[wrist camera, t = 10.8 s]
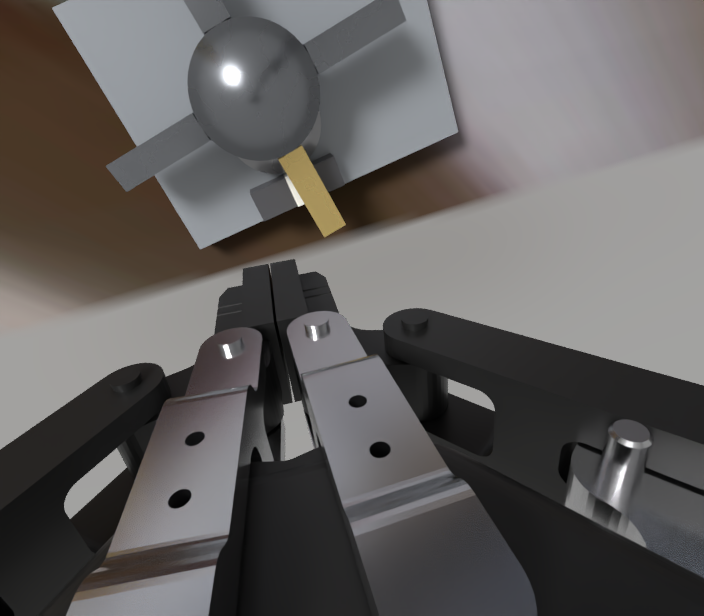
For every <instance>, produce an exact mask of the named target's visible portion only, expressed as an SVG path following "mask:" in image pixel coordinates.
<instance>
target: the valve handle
mask: <svg viewBox="0 0 704 616" xmlns="http://www.w3.org/2000/svg"><path fill="white" fill-rule="evenodd" d="M184 2H185V4H186V5H187V7H188V9H189V10H190V12H191V14H192V15H193V17H194V19H195V20H196V22H197V24H198V26H199V27H200V29H201V31H202V32H203V34H204V36H203V38H202V39H201V40H200V42H199V43H198V45H197V46H196V48H195V50H194V52H193V55H192V58H191V60H190V64H189V69H188V79H187V84H188V94H189V100H190V104H191V107H192V110H193V113H191V114H189V115H188V116H186V117H185V118H183V119H181V120H180V121H178V122H176V123H175V124H173V125H172V126H170V127H168V128H167V129H165V130H163V131H162V132H160V133H159V134H157V135H155V136H154V137H152V138H151V139H149V140H147V141H146V142H144V143H142V144H141V145H139V146H138V147H136V148H134V149H133V150H131V151H129V152H128V153H126V154H125V155H123V156H121V157H120V158H118V159H116V160H115V161H113V162H112V163H110V164H108V165H107V166H106V167H107V169H108V170H109V171H110V172H111V173H112V175H113V176H114V177H115V178H116V180H117V181H118V182H119V183H120V184H121V186H122V187H123V188H124V189H125V191H126V192H127V191H129V190H131V189H132V188H134V187H136V186H137V185H139V184H140V183H142V182H144V181H145V180H147V179H149V178H150V177H152V176H153V175H155V174H157V173H158V172H160V171H162V170H163V169H165V168H167V167H168V166H170V165H171V164H173V163H175V162H176V161H178V160H180V159H181V158H183V157H185V156H186V155H188V154H189V153H191V152H193V151H194V150H196V149H198V148H199V147H201V146H203V145H204V144H206V143H207V142H209V141H210V140H212V141H213V142H215V143H216V144H217V145H218V146H219V147H221V148H222V149H224V150H225V151H227V152H228V153H231V154H233V155H235V156H237V157H238V158H239V159H240V160H241V161H243V162H244V163H245V164H246V165H248V166H249V167H251V168H253V169H255V170H257V171H260V172H263V173H268V174H282V173H286V174H287V175H288V177H289V179H290V180H291V182H292V184H293V185H294V187H295V189H296V190H297V192H298V194H299V195H300V197H301V199H302V200H303V202H304V204H305V205H306V207H307V209H308V211H309V212H310V214H311V216H312V217H313V219H314V221H315V222H316V224H317V226H318V227H319V229H320V231H321V232H322V234H323V236H324V237H326V236H328V235H329V234H331V233H333V232H334V231H336V230H338V229H339V228H341V227H343V226H344V225H346V224H345V222H344V220H343V218H342V217H341V215H340V213H339V211H338V209H337V208H336V206H335V204H334V202H333V200H332V199H331V197H330V195H329V193H328V191H327V190H326V188H325V186H324V184H323V182H322V181H321V179H320V177H319V175H318V173H317V172H316V170H315V168H314V166H313V164H312V163H311V161H310V159H309V158H310V157H311V155H312V154H313V152H314V151H315V149H316V147H317V144H318V141H319V138H320V133H321V117H320V111H319V106H320V85H319V79H318V75H317V74H320V73H322V72H323V71H325V70H327V69H328V68H330V67H332V66H333V65H335V64H337V63H338V62H340V61H341V60H343V59H345V58H346V57H348V56H350V55H351V54H353V53H355V52H356V51H358V50H359V49H361V48H363V47H364V46H366V45H368V44H369V43H371V42H373V41H374V40H376V39H377V38H379V37H381V36H382V35H384V34H386V33H387V32H389V31H390V30H392V29H394V28H395V27H397V26H399V25H400V24H402V23H404V22H405V21H406V18H405V15H404V13H403V10H402V7H401V5H400V2H399V0H374V1H373V2H371V3H370V4H368V5H366V6H365V7H363V8H361V9H360V10H358V11H357V12H355V13H353V14H352V15H350V16H348V17H347V18H345V19H344V20H342V21H340V22H339V23H337V24H335V25H334V26H332V27H331V28H329V29H327V30H326V31H324V32H323V33H321V34H319V35H318V36H316V37H314V38H313V39H311V40H310V41H308V42H306V43H305V44H303V45H302V43H301V42H300V41H299V40H298V39H297V38H296V37H295V36H294V35H293V34H292V33H290V32H289V31H288V30H287V29H285V28H284V27H282V26H280V25H279V24H277V23H275V22H272V21H270V20H267V19H264V18H259V17H252V16H242V17H236V18H232V19H231V17H230V15H229V13H228V11H227V10H226V8H225V6H224V4H223V2H222V1H221V0H184Z"/></svg>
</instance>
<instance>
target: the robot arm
mask: <svg viewBox="0 0 704 616" xmlns="http://www.w3.org/2000/svg"><path fill="white" fill-rule="evenodd" d="M270 266H271V273H270V268H269V265H268V264H265V265H260V266H255V267H249V268H244V269H243V285H242V286H238V287H232V288H228V289H227V290H226V291H225V292H224V293H223V294H222V295H221V296H220V298H219V304H218V312H217V319H216V326H215V334H214V335H213V336H211V337H210V338H208V339H207V340H206V341H205V342H204V343H203V344H202V345H201V347H200V349H199V353H198V356H197V359H196V362H195V365H193V366H191V367H189V368H187V369H184V370H182V371H179V372H177V373H175V374H172V375H169V376H167V377H165V374H164V372H163V369H162V368H161V367H160V366H159V365H156V364H152V363H139V364H134V365H130V366H127V367H124V368H121V369H119V370H117V371H115V372H113V373H111V374H109V375H108V376H107V377H105V378H103V379H102V380H100V381H99V382H97V383H96V384H95V385H93V386H92V387H90V388H89V389H87V390H86V391H85V392H83V393H82V394H80V395H79V396H77V397H76V398H74V399H73V400H72V401H70V402H69V403H67V404H66V405H65V406H63V407H61V408H60V409H59V410H57V411H56V412H54V413H53V414H51V415H50V416H48V417H47V418H45V419H44V420H43V421H41V422H40V423H38V424H37V425H36V426H34V427H32V428H31V429H30V430H28V431H27V432H25V433H24V434H22V435H21V436H19V437H18V438H17V439H15V440H14V441H12V442H11V443H9V444H8V445H6V446H5V447H4V448H2V449H1V450H0V616H704V386H703V385H699V384H696V383H692V382H689V381H685V380H681V379H678V378H674V377H670V376H667V375H663V374H660V373H656V372H652V371H649V370H645V369H642V368H638V367H634V366H631V365H627V364H623V363H620V362H616V361H613V360H609V359H606V358H601V357H598V356H595V355H591V354H587V353H584V352H580V351H577V350H573V349H569V348H566V347H562V346H558V345H555V344H551V343H548V342H544V341H541V340H537V339H533V338H529V337H526V336H523V335H519V334H515V333H512V332H508V331H504V330H501V329H497V328H494V327H490V326H487V325H483V324H479V323H476V322H472V321H468V320H465V319H461V318H458V317H454V316H450V315H447V314H443V313H440V312H436V311H432V310H428V309H421V308H420V309H419V308H414V309H405V310H401V311H398V312H396V313H393V314H392V315H390V316H389V317H387V318H386V320H385V321H384V323H383V330H360V329H355V328H353V327H350V325H349V323H348V321H347V320H346V318H345V317H344V316H343V315H341V314H339V312H338V309H337V307H336V304H335V301H334V299H333V296H332V294H331V291H330V288H329V286H328V283H327V280H326V278H325V277H324V276H322V275H321V274H319V273H317V272H310V273H306V274H300V275H299V274H298V270H297V266H296V262H295V259H292V260H287V261H281V262H276V263H271V264H270ZM271 275H272V277H271ZM289 377H290V380H289ZM448 379H451V380H454V381H456V382H459V383H462V384H464V385H467V386H470V387H472V388H475V389H477V390H480V391H482V392H483V393H485V394H486V395H487V396H488V397H489V398H490V399H491V401H492V402H493V404H494V407H495V411H492V410H490V409H487V408H484V407H482V406H479V405H477V404H474V403H472V402H469V401H467V400H464V399H462V398H459V397H457V396H454V395H452V394H449V393H448ZM290 381H291V386H292V390H293V394H294V399H295V402H296V401H301V400H302V404H303V407H304V413H305V417H306V422H307V426H308V430H309V433H310V437H311V440H312V444H313V447H314V449H313V450H311V451H309V452H307V453H305V454H302V455H300V456H298V457H296V458H294V459H291V460H287V461H285V426H284V422H283V415H284V410H283V404H288V403H292V395H291V388H290ZM116 448H117V449H118V450H119V452H120V454H121V456H122V458H123V460H124V462H125V464H126V466H127V468H126V469H125V470H124V471H123V472H122V473H121V474H120V475H118V476H117V477H116V478H115V479H114V480H113V481H112V482H111V483H110V484H108V485H107V486H106V487H105V488H104V489H103V490H102V491H101V492H100V493H99V494H97V495H96V496H95V497H94V498H93V499H92V500H91V501H90V502H89V503H88V504H87V505H85V506H84V507H83V508H82V509H81V510H80V511H79V512H78V513H77V514H76V515H74V516H73V517H72V518H71V519H69V517H68V516H67V514H66V513H65V510H64V501H65V498H66V495H67V493H68V492H69V490H70V489H71V487H72V486H73V485H74V484H75V483H76V482H77V481H78V480H80V478H82V477H83V476H84V475H85V474H86V473H88V471H90V470H91V469H92V468H94V467H95V466H96V465H97V464H98V463H99V462H101V461H102V460H103V459H104V458H105V457H107V456H108V455H109V454H110V453H111V452H112V451H113V450H115V449H116Z"/></svg>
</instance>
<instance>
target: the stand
mask: <svg viewBox="0 0 704 616" xmlns="http://www.w3.org/2000/svg"><path fill="white" fill-rule="evenodd" d="M221 1H222V2H223V4H224V6H225V8H226V10H227V11H228V13H229V15H230V17H231V19H232V18H236V17H242V16H252V17H259V18H264V19H267V20H270V21H272V22H275V23H277V24H279V25H280V26H282V27H284V28H285V29H287V30H288V31H289V32H290V33H292V34H293V35H294V36H295V37H296V38H297V39H298V40H299V41H300V42H301V43H302V45H303V44H305V43H306V42H308V41H310V40H311V39H313V38H314V37H316V36H318V35H319V34H321V33H323V32H324V31H326V30H327V29H329V28H331V27H332V26H334V25H335V24H337V23H339V22H340V21H342V20H344V19H345V18H347V17H348V16H350V15H352V14H353V13H355V12H357V11H358V10H360V9H361V8H363V7H365V6H366V5H368V4H370V3H371V2H373V1H374V0H221ZM399 2H400V5H401V7H402V10H403V13H404V15H405V18H406V21H405V22H404V23H402V24H400V25H399V26H397V27H395V28H394V29H392V30H390V31H389V32H387V33H386V34H384V35H382V36H381V37H379V38H377V39H376V40H374V41H373V42H371V43H369V44H368V45H366V46H364V47H363V48H361V49H359V50H358V51H356V52H355V53H353V54H351V55H350V56H348V57H346V58H345V59H343V60H341V61H340V62H338V63H337V64H335V65H333V66H332V67H330V68H328V69H327V70H325V71H323V72H322V73H320V74H317V75H318V79H319V85H320V106H319V111H320V117H321V133H320V138H319V141H318V144H317V147H316V149H315V151H314V152H313V154H312V155H311V157H310V158H309V159H310V161H311V163H312V164H313V166H314V168H315V170H316V172H317V173H318V175H319V177H320V179H321V181H322V182H323V184H324V186H325V188H326V190H327V191H328V192H330V191H332V190H335V189H337V188H339V187H341V186H343V185H345V183H347V182H350V181H352V180H354V179H356V178H358V177H361V176H363V175H365V174H367V173H369V172H372V171H374V170H376V169H378V168H380V167H383V166H385V165H387V164H389V163H391V162H394V161H396V160H398V159H400V158H402V157H405V156H407V155H409V154H411V153H413V152H416V151H418V150H420V149H422V148H424V147H427V146H429V145H431V144H433V143H435V142H438V141H440V140H442V139H444V138H446V137H449V136H451V135H453V134H455V133H457V132H458V128H457V124H456V120H455V116H454V111H453V107H452V103H451V99H450V95H449V91H448V86H447V82H446V78H445V74H444V70H443V65H442V61H441V57H440V53H439V49H438V44H437V40H436V36H435V32H434V28H433V24H432V19H431V15H430V11H429V7H428V3H427V0H399ZM52 9H53V11H54V12H55V14H56V15H57V17H58V19H59V20H60V22H61V24H62V25H63V27H64V28H65V30H66V32H67V33H68V35H69V37H70V38H71V40H72V41H73V43H74V45H75V46H76V48H77V50H78V51H79V53H80V55H81V56H82V58H83V59H84V61H85V63H86V64H87V66H88V68H89V69H90V71H91V72H92V74H93V76H94V77H95V79H96V81H97V82H98V84H99V85H100V87H101V89H102V90H103V92H104V94H105V95H106V97H107V98H108V100H109V102H110V103H111V105H112V107H113V108H114V110H115V112H116V113H117V115H118V116H119V118H120V120H121V121H122V123H123V125H124V126H125V128H126V129H127V131H128V133H129V134H130V136H131V138H132V139H133V141H134V142H135V144H136V146H137V147H138V146H139V145H141V144H142V143H144V142H146V141H147V140H149V139H151V138H152V137H154V136H155V135H157V134H159V133H160V132H162V131H163V130H165V129H167V128H168V127H170V126H172V125H173V124H175V123H176V122H178V121H180V120H181V119H183V118H185V117H186V116H188V115H189V114H191V113H193V110H192V107H191V104H190V100H189V94H188V84H187V79H188V69H189V64H190V60H191V58H192V55H193V52H194V50H195V48H196V46H197V45H198V43H199V42H200V40H201V39H202V38H203V36H204V34H203V32H202V31H201V29H200V27H199V26H198V24H197V22H196V20H195V19H194V17H193V15H192V14H191V12H190V10H189V9H188V7H187V5H186V4H185V2H184V0H68V1H66V2H64V3H62V4H59V5H57V6H55V7H53V8H52ZM155 177H156V178H157V180H158V182H159V183H160V185H161V186H162V188H163V190H164V191H165V193H166V195H167V196H168V198H169V199H170V201H171V203H172V204H173V206H174V208H175V209H176V211H177V212H178V214H179V216H180V217H181V219H182V221H183V222H184V224H185V226H186V227H187V229H188V230H189V232H190V234H191V235H192V237H193V239H194V240H195V242H196V243H197V245H198V247H199V248H200V249H202V248H204V247H207V246H209V245H211V244H213V243H215V242H218V241H220V240H222V239H224V238H226V237H229V236H231V235H233V234H235V233H237V232H240V231H242V230H244V229H246V228H248V227H251V226H253V225H255V224H257V223H259V222H262V221H266V220H269V219H271V218H273V217H275V216H277V215H280V214H282V213H284V212H286V211H288V210H291V209H293V208H295V207H297V206H298V207H299V206H302V205H304V202H303V200H302V199H301V197H300V195H299V194H298V192H297V190H296V189H295V187H294V185H293V184H292V182H291V180H290V179H289V177H288V175H287V174H286V173H282V174H268V173H263V172H260V171H257V170H255V169H253V168H251V167H249V166H248V165H246V164H245V163H244V162H243V161H241V160H240V159H239V158H238V157H237V156H235V155H233V154H231V153H228V152H227V151H225V150H224V149H222V148H221V147H219V146H218V145H217V144H216V143H215V142H213V141H212V140H210V141H209V142H207V143H206V144H204V145H203V146H201V147H199V148H198V149H196V150H194V151H193V152H191V153H189V154H188V155H186V156H185V157H183V158H181V159H180V160H178V161H176V162H175V163H173V164H171V165H170V166H168V167H167V168H165V169H163V170H162V171H160V172H158V173H157V174H155Z"/></svg>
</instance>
